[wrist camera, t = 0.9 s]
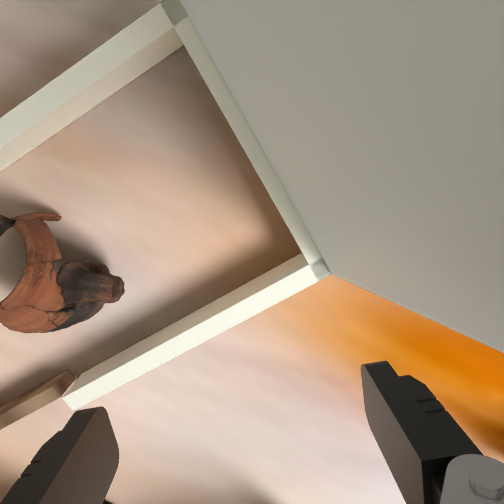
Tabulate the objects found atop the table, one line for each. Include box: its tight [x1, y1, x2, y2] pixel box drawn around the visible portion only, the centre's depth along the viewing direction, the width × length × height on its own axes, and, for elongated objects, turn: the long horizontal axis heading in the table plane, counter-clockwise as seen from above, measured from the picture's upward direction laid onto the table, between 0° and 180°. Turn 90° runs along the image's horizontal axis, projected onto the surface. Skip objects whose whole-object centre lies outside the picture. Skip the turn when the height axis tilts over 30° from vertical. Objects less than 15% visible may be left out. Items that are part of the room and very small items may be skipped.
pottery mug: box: [0, 213, 125, 333], centre depth 27 cm, size 12×10×8 cm
